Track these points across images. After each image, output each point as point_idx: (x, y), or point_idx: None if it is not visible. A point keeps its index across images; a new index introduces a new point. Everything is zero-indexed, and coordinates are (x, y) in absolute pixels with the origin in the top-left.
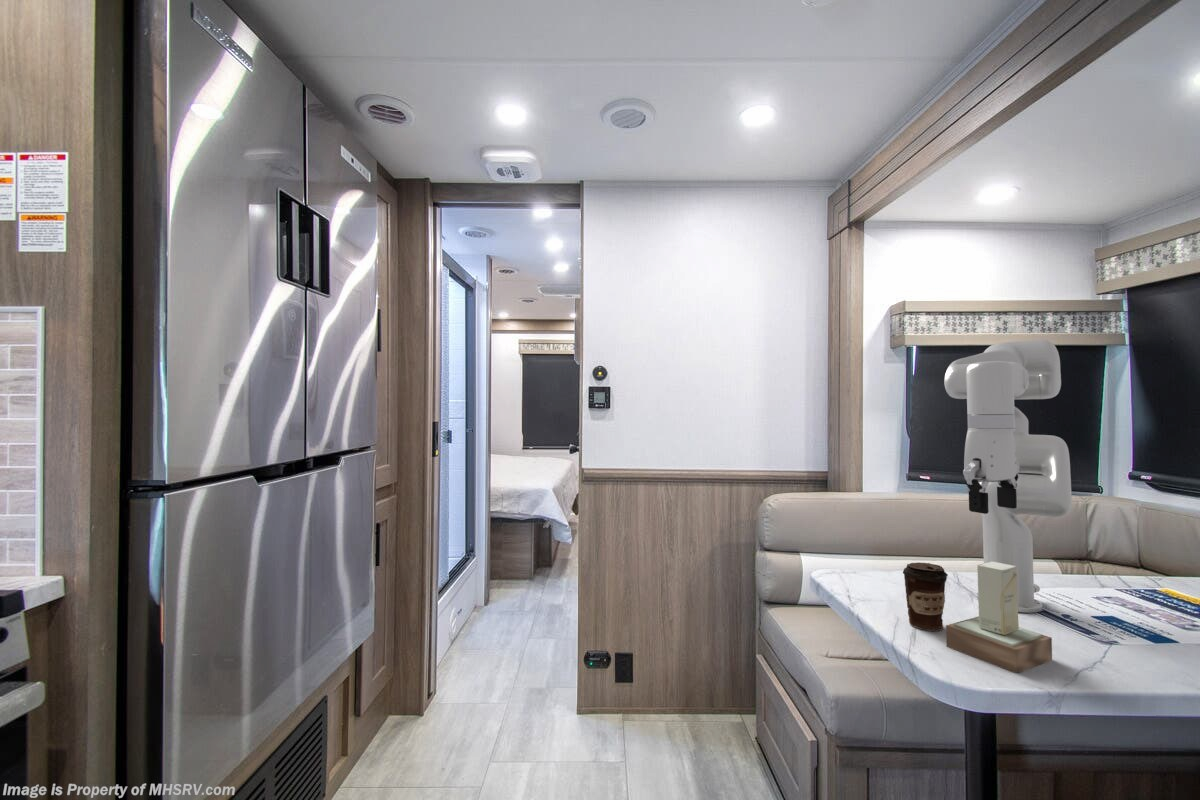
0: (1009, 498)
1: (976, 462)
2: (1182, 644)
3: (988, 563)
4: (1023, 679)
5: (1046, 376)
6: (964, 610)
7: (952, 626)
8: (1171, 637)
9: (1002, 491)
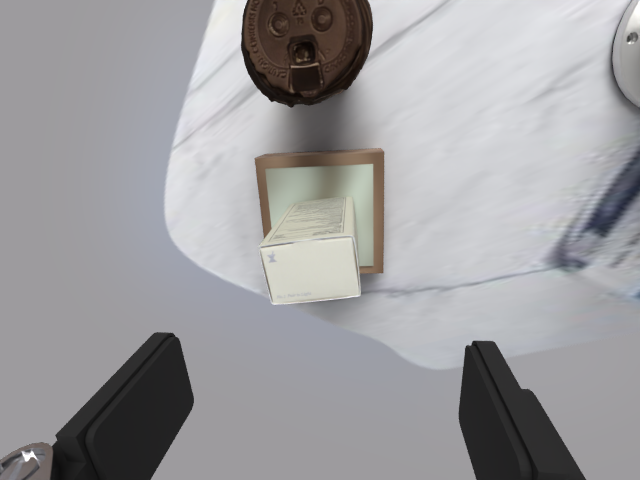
0: (479, 455)
1: None
2: None
3: (314, 246)
4: None
5: None
6: (517, 22)
7: (262, 167)
8: None
9: (502, 469)
